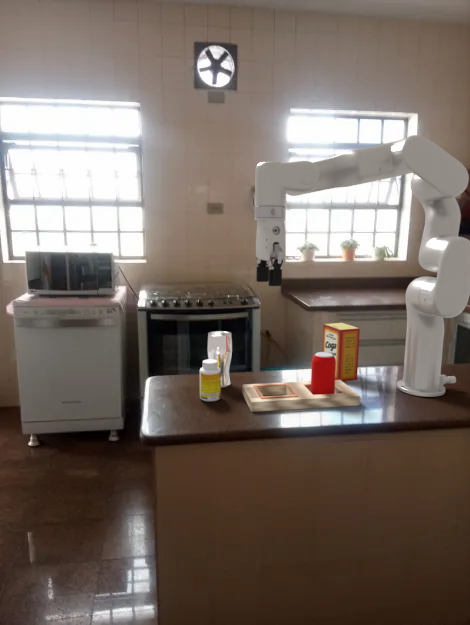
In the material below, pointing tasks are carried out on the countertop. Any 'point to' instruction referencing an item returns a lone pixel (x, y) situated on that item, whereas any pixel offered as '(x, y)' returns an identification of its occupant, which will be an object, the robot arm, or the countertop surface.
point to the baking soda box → (342, 348)
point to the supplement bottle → (210, 381)
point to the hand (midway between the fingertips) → (268, 283)
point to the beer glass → (221, 353)
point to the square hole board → (296, 396)
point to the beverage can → (323, 373)
